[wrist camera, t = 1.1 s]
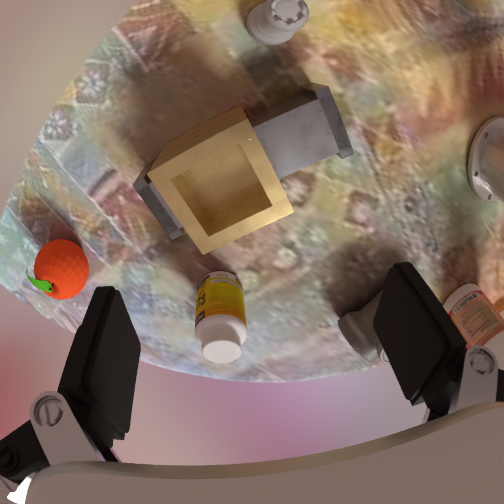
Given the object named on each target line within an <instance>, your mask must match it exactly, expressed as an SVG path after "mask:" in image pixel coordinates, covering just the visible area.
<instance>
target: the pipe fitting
mask: <svg viewBox="0 0 504 504" xmlns="http://www.w3.org/2000/svg"><path fill="white" fill-rule="evenodd" d="M383 289H384V288H383ZM383 289H382V290H381V291H380V292H379V293H378V294H377V295H376V296H375V297H374V298H373V299H372V300H371V301H370V302H369V303H368V304H367V305H366V306H365V307H364V308H362V309H361V310H360V311H354V312H348V313H346V314H345V315H344V316H343V317H341V318H340V319H339V320H338V326H339V328H340V330H341V332H342V334H343V335H344V337H345V338H346V340H347V341H348V342H349V344H350V345H351V346H352V347H353V348H354V350H355V351H356V352H357V353H359V354H360V355H361V356H362V357H363V358H365V359H366V360H368V361H369V362H373V361H374V360H375V359H377V358H378V357H379V359H380V360H381V361H382V362H383V363H386V364H390V362H389V360H388V358H387V355H386V353H385V351H384V349H383V347H382V345H381V343H380V340H379V338H378V336H377V334H376V332H375V330H374V327H373V319H374V316H375V313H376V310H377V307H378V304H379V301H380V298H381V295H382V292H383Z"/></svg>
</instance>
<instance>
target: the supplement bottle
mask: <svg viewBox="0 0 504 504" xmlns="http://www.w3.org/2000/svg"><path fill="white" fill-rule="evenodd" d="M195 337H196V339H197V341H198V342H199V343H200V344H201V345H202V354H203V356H204V357H205V358H206V359H207V360H209V361H211V362H215V363H228V362H231V361H234V360H235V359H237V358H238V357H239V356H240V354H241V344H243V342H244V341H245V339H246V337H247V325H246V316H245V306H244V297H243V288H242V284H241V282H240V280H239V279H238V278H237V277H236V276H235V275H233V274H231V273H229V272H224V271H215V272H211V273H209V274H207V275H205V276H204V277H203V278H202V279H201V280H200V282H199V284H198V289H197V302H196V318H195Z"/></svg>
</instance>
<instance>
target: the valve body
mask: <svg viewBox="0 0 504 504" xmlns="http://www.w3.org/2000/svg"><path fill="white" fill-rule="evenodd" d="M300 88H301V91H302V94H300V95H298V96H295V97H293V98H291V99H288V100H286V101H284V102H281V103H279V104H277V105H274V106H272V107H270V108H268V109H266V110H263V111H261V112H259V113H257V114H255V115H253V116H251V117H248V118H247V116H246V114H245V113H244V111H243V109H242V107H241V105H238V106H236V107H234V108H232V109H230V110H228V111H226V112H224V113H222V114H220V115H218V116H216V117H214V118H212V119H210V120H209V121H207V122H205V123H203V124H201V125H199V126H197V127H196V128H194V129H192V130H190V131H188V132H187V133H185V134H183V135H181V136H180V137H178V138H176V139H174V140H173V141H171V142H169V143H168V144H166V145H165V147H164V148H163V150H162V151H161V153H160V154H159V156H158V157H157V159H156V160H155V161H153V162H151V163H150V164H148V165H146V166H145V167H144V169H143V170H142V172H141V173H140V175H139V176H138V178H137V179H136V181H135V182H134V184H133V186H134V188H135V189H136V191H137V192H138V193H139V195H140V196H141V198H142V199H143V200H144V202H145V203H146V205H147V206H148V208H149V209H150V210H151V212H152V213H153V214H154V216H155V217H156V219H157V220H158V221H159V223H160V224H161V226H162V227H163V228H164V230H165V231H166V232H167V234H168V235H169V236H170V238H171V239H172V240H174V239H176V238H178V237H180V236H182V235H183V233H184V229H185V230H186V232H187V233H188V235H189V236H190V237H191V239H192V240H193V242H194V243H195V244H196V246H197V247H198V249H199V250H200V251H201V253H202V254H203V255H204V254H206V253H208V252H210V251H212V250H214V249H216V248H219V247H221V246H223V245H225V244H227V243H229V242H231V241H233V240H235V239H238V238H240V237H242V236H244V235H246V234H248V233H250V232H252V231H255V230H257V229H259V228H261V227H263V226H265V225H267V224H270V223H272V222H274V221H276V220H278V219H280V218H282V217H285V216H287V215H289V214H291V213H293V212H294V211H293V209H292V207H291V205H290V202H289V200H288V198H287V196H286V194H285V192H284V190H283V188H282V186H281V184H280V182H279V180H278V179H281V178H283V177H285V176H287V175H289V174H291V173H294V172H296V171H298V170H300V169H302V168H305V167H307V166H309V165H311V164H313V163H316V162H318V161H320V160H322V159H325V158H327V157H329V156H332V155H334V154H337V155H338V156H339V157H340V158H342V159H343V158H346V157H348V156H350V155H353V154H354V152H353V149H352V146H351V144H350V141H349V138H348V135H347V132H346V130H345V127H344V124H343V122H342V119H341V116H340V114H339V111H338V109H337V106H336V104H335V101H334V99H333V96H332V94H331V91H330V89H329V87H328V86H325V85H321V84H316V83H308V84H306V85H303V86H301V87H300Z"/></svg>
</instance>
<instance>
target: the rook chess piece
mask: <svg viewBox="0 0 504 504" xmlns="http://www.w3.org/2000/svg"><path fill="white" fill-rule="evenodd" d="M308 17H309V10H308V7H307V4H306V3H305V2H304V1H303V0H266V1H265V2H264V3H261V4H259V5H258V6H256V7H254V8H253V9H252V10H251V12H250V13H249V15H248V16H247V22H246V26H247V29H248V32H249V34H250V35H251V36H252V37H253V38H254V40H256V41H258V42H260V43H262V44H264V45H271V46H275V45H280V44H283V43H285V42H286V41H288V40H290V39H291V38H292V36H293V35H294V34H295V32H296V31H297V30H298V29H300V28H302V27H304V25H305V24H306V22H307V21H308Z"/></svg>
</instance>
